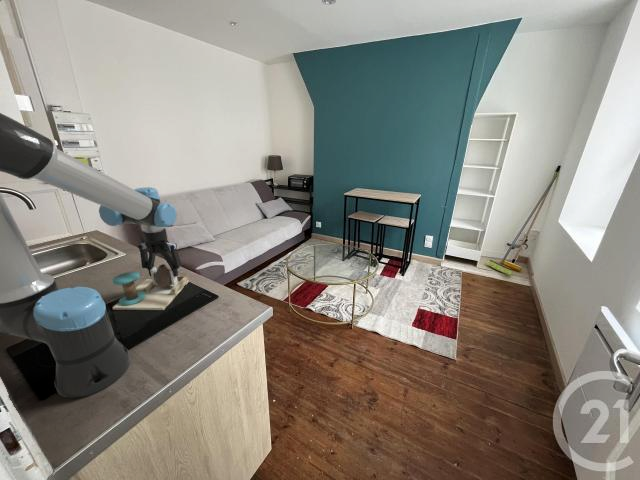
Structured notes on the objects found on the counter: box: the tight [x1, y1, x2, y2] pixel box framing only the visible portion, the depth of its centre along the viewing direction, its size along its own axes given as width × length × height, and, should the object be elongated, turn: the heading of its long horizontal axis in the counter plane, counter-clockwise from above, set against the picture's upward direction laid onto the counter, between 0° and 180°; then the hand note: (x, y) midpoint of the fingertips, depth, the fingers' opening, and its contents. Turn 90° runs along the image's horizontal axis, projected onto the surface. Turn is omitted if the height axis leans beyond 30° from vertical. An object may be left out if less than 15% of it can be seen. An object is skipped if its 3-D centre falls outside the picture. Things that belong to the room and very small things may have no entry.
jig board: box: [112, 271, 189, 311], centre depth 102 cm, size 20×18×11 cm
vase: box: [155, 264, 172, 287], centre depth 105 cm, size 7×7×9 cm
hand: (165, 282), depth 106 cm, fingers closed on vase, 7 cm apart
